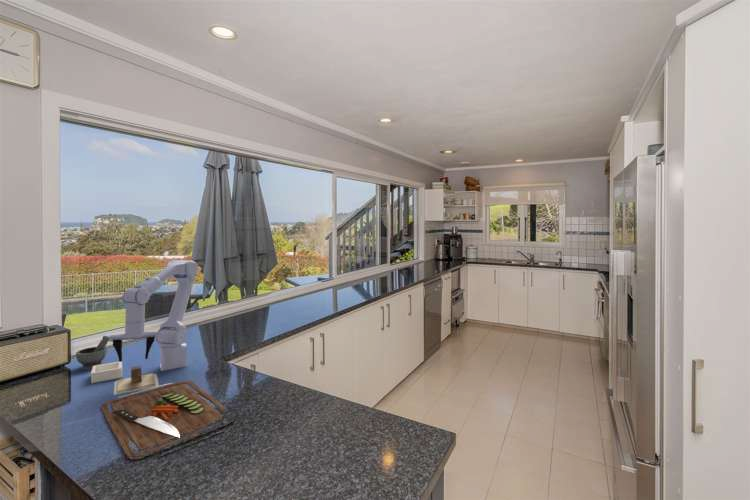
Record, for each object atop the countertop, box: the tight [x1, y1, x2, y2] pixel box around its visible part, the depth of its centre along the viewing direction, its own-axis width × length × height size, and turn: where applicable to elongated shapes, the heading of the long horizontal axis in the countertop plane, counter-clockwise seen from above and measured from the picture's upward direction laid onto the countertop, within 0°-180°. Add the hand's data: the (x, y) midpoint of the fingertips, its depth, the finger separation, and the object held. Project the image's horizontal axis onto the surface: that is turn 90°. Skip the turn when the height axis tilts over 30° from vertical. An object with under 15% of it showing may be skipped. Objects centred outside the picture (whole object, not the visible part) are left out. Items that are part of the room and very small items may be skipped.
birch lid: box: [117, 365, 155, 393], centre depth 128 cm, size 11×11×6 cm
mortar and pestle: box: [75, 335, 110, 371], centre depth 145 cm, size 11×9×12 cm
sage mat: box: [113, 373, 160, 396], centre depth 128 cm, size 13×13×1 cm
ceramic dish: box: [90, 361, 123, 384], centre depth 134 cm, size 9×9×4 cm
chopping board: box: [100, 380, 228, 458], centre depth 108 cm, size 45×27×3 cm, turn 46°
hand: (133, 359), depth 127 cm, fingers open, 7 cm apart
